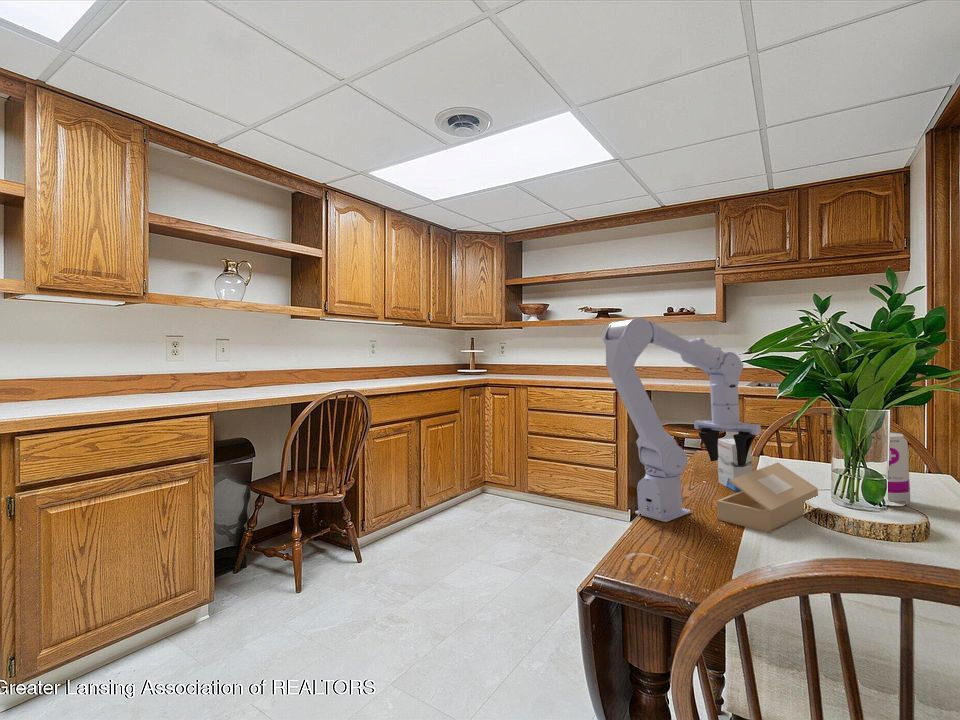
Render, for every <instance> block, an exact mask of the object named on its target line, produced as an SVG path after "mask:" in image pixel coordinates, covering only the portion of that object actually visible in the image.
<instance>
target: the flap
mask: <svg viewBox="0 0 960 720" xmlns="http://www.w3.org/2000/svg"><path fill="white" fill-rule="evenodd" d="M729 482H731V483H732V484H733V485H735V486H736V487H737V488H739V489H740V490H741V491H743V492H744V493H745V494H747V495H748V496H750V497H751V498H752V499H754V500H755V501H756V502H758V503H759V504H760V505H762V506H763V507H764V508H766V509H767V510H768V511H770V512H771V511H773V510H775V509H777V508H779V507H781V506H784V505H786V504H788V503H790V502H792V501H794V500H796V499H798V498H801V497H803V496H805V495H807V494H809V493H811V492H813V491H815V490H817V489H818V487H817V486H815V485H814V484H812V483H810V482H809V481H808V480H807V479H804V478H803V477H802V476H800V475H798V474H797V473H795V472H793V471H792V470H791V469H789V468H788V467H786V466H785V465H783V464H782V463H781V462H776V463H773V464H769V465H768V466H764V467H762V468H759V469H756V470H754V471H753V470H752V472H750V473H747V474H744V475H742V476H739V477H736V478H733V479H730V480H729Z"/></svg>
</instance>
